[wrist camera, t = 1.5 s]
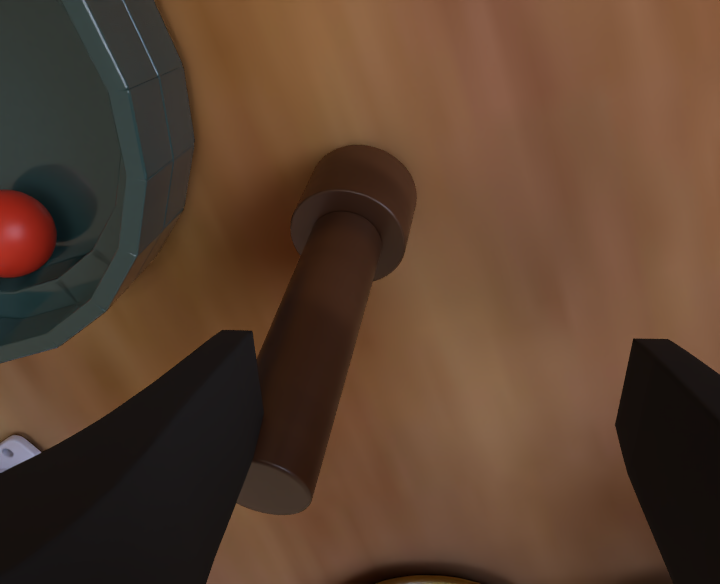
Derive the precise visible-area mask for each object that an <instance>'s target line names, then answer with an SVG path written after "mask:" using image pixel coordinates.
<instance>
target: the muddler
mask: <svg viewBox="0 0 720 584" xmlns="http://www.w3.org/2000/svg"><path fill="white" fill-rule="evenodd" d="M416 199H417V196H416V188H415V184H414V181H413V179H412V177H411V175H410V173H409V172H408V170H407V169H406V168H405V167H404V165H403V164H402V163H401V162H400V161H398V160H397V159H396V158H395V157H393V156H392V155H390V154H389V153H387V152H385V151H383V150H380V149H377V148H374V147H370V146H364V145H351V146H345V147H341V148H338V149H336V150H333V151H332V152H330V153H328V154H327V155H326V156H324V157H323V158H322V159H321V160H320V161H319V163H318V164H317V166H316V167H315V169H314V171H313V173H312V176H311V178H310V180H309V182H308V184H307V186H306V188H305V190H304V192H303V194H302V197H301V199H300V201H299V203H298V205H297V207H296V209H295V211H294V213H293V216H292V219H291V226H290V229H291V237H292V241H293V243H294V246H295V248H296V250H297V252H298V253H299V254H300V258H299V261H298V263H297V266H296V268H295V270H294V273H293V275H292V277H291V280H290V282H289V284H288V287H287V289H286V291H285V294H284V296H283V298H282V301H281V303H280V305H279V308H278V310H277V312H276V315H275V317H274V320H273V322H272V324H271V327H270V329H269V331H268V334H267V336H266V338H265V341H264V343H263V345H262V348H261V350H260V352H259V355H258V357H257V359H256V360H257V367H258V374H259V381H260V388H261V395H262V402H263V409H264V415H263V420H262V424H261V428H260V433H259V437H258V441H257V445H256V449H255V453H254V457H253V460H252V463H251V465H250V468H249V471H248V473H247V476H246V479H245V481H244V484H243V486H242V489H241V492H240V494H239V497H238V499H237V502H236V503H237V504H239V505H241V506H244V507H246V508H249V509H252V510H255V511H258V512H262V513H267V514H274V515H290V514H296V513H299V512H301V511H303V510H305V509H306V508H307V507H308V506H309V505H310V503H311V501H312V498H313V494H314V490H315V487H316V483H317V480H318V476H319V473H320V469H321V465H322V462H323V458H324V455H325V451H326V447H327V444H328V440H329V437H330V433H331V429H332V426H333V422H334V419H335V415H336V411H337V408H338V404H339V401H340V397H341V394H342V390H343V386H344V383H345V379H346V376H347V372H348V368H349V365H350V361H351V358H352V354H353V350H354V347H355V343H356V340H357V336H358V332H359V329H360V325H361V322H362V318H363V315H364V311H365V307H366V304H367V300H368V297H369V293H370V289H371V286H372V282H373V281H376V280H379V279H381V278H383V277H385V276H387V275H388V274H390V273H391V272H392V271H393V270H394V269H395V268H396V267H397V266H398V265H399V264H400V262H401V260H402V258H403V256H404V253H405V249H406V244H407V240H408V236H409V232H410V227H411V223H412V219H413V215H414V210H415V206H416Z"/></svg>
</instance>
